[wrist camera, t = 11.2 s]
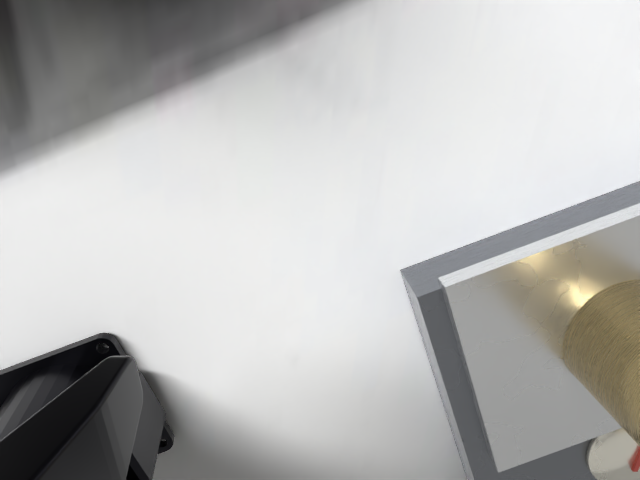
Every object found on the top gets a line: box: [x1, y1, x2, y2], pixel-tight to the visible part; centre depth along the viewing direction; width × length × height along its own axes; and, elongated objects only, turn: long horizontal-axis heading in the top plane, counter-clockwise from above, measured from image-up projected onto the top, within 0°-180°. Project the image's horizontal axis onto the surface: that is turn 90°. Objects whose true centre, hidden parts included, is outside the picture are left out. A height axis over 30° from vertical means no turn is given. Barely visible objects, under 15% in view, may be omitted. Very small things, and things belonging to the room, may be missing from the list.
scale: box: [400, 181, 640, 480], centre depth 24 cm, size 15×16×3 cm
